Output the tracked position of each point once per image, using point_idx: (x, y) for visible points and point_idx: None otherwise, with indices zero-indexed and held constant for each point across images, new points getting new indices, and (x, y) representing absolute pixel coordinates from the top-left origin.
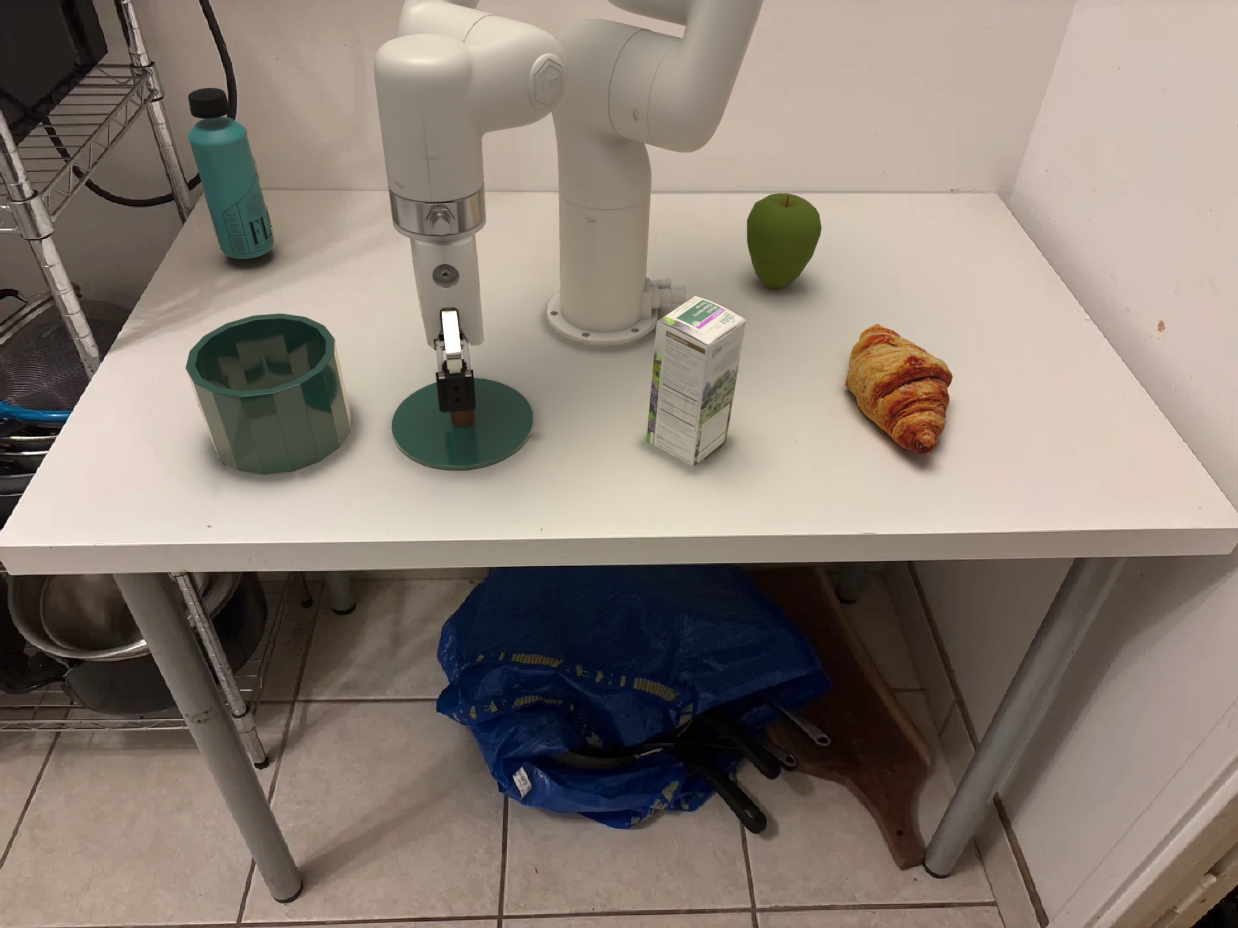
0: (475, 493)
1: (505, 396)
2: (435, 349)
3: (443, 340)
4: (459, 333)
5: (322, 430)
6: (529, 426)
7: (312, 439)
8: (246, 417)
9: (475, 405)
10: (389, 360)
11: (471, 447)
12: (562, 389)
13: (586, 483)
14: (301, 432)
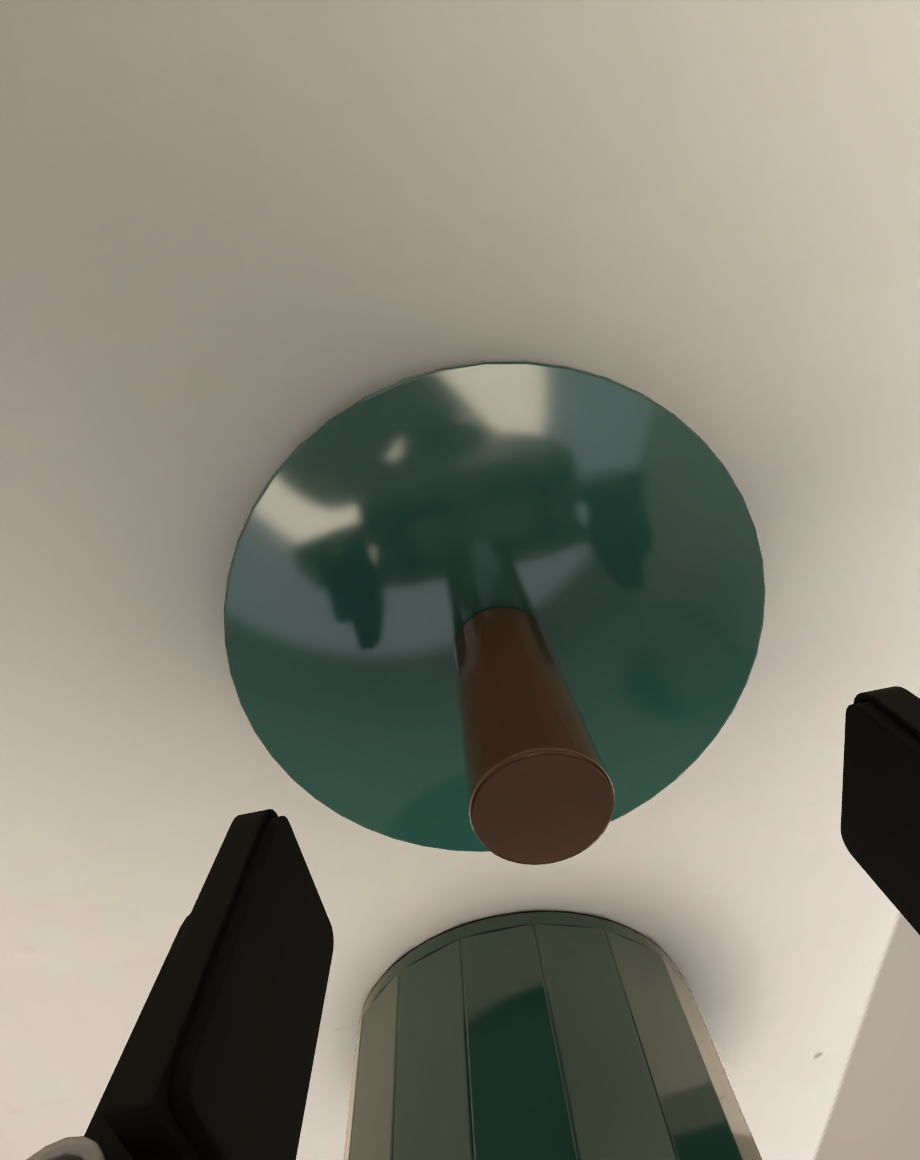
0: (837, 546)
1: (338, 505)
2: (332, 943)
3: (307, 966)
4: (259, 934)
5: (672, 1042)
6: (549, 375)
7: (698, 1046)
8: None
9: (907, 694)
10: (150, 898)
11: (666, 597)
12: (184, 229)
13: (879, 71)
14: (727, 1104)
